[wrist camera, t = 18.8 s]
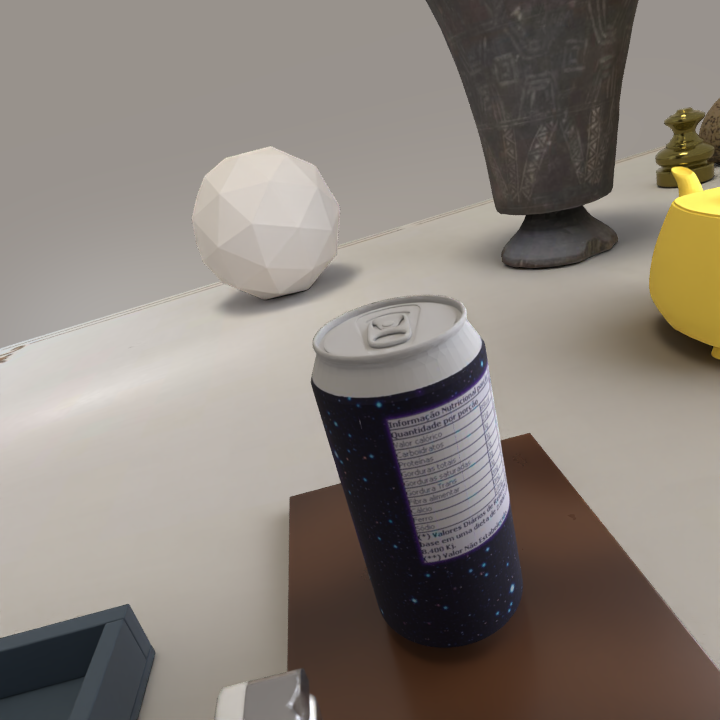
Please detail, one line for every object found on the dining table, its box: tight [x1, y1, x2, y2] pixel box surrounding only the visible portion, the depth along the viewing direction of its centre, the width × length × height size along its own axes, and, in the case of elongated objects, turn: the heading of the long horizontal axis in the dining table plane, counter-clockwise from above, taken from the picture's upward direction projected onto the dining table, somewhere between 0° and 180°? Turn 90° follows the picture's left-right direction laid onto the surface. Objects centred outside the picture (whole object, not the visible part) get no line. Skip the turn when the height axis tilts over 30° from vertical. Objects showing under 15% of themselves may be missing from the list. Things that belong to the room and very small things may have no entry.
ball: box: [192, 146, 340, 300], centre depth 74 cm, size 19×20×20 cm
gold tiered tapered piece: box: [655, 107, 715, 187], centre depth 79 cm, size 7×7×10 cm
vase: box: [426, 0, 638, 268], centre depth 58 cm, size 22×22×30 cm
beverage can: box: [311, 295, 523, 648], centre depth 20 cm, size 6×6×12 cm
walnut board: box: [287, 433, 720, 720], centre depth 22 cm, size 20×14×1 cm
